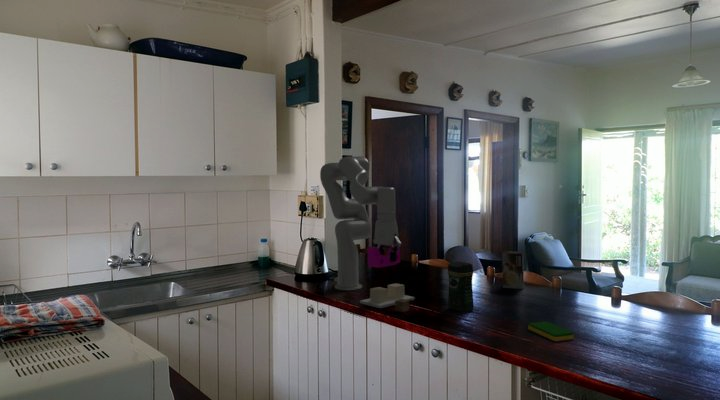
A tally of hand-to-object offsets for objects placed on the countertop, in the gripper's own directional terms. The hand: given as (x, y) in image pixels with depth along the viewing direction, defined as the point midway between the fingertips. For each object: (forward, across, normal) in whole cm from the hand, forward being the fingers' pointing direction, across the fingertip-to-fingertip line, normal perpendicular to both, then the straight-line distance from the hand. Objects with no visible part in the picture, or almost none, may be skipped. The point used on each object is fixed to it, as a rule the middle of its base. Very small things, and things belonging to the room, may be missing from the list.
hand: (387, 260), depth 214 cm
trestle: (+17, 0, 0) cm, 17 cm away
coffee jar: (+18, +29, +11) cm, 35 cm away
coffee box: (+17, +22, +59) cm, 65 cm away
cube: (+17, +14, -6) cm, 23 cm away
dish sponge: (+18, +68, +7) cm, 71 cm away
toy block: (+2, 0, 0) cm, 2 cm away
